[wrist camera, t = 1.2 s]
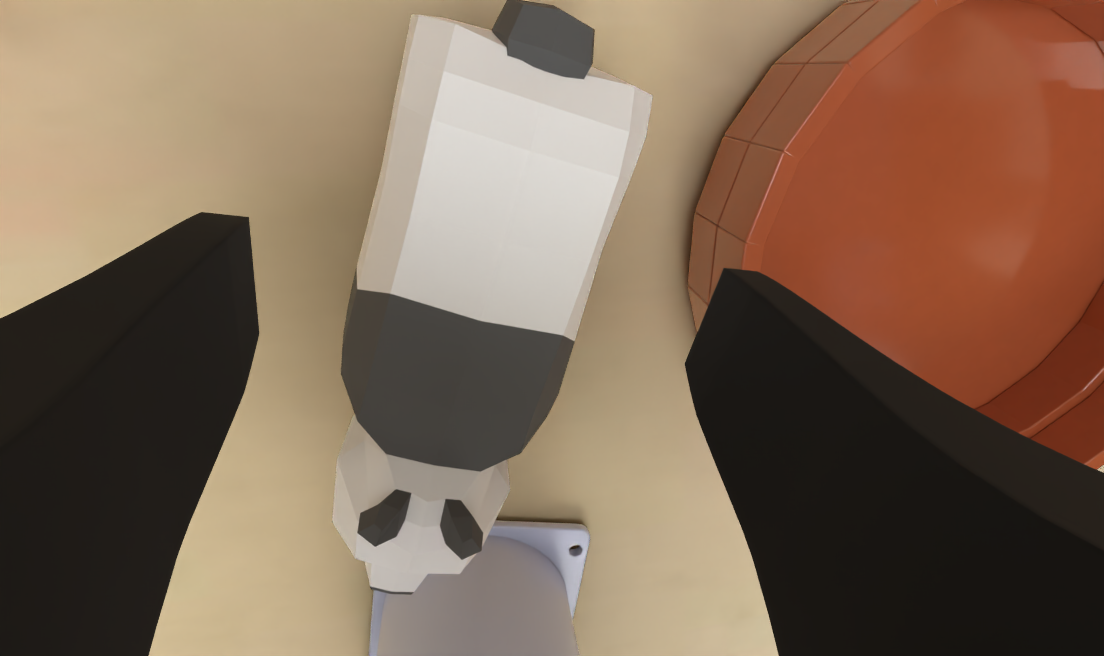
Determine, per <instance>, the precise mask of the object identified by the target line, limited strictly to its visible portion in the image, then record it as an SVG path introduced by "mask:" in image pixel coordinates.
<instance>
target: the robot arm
mask: <svg viewBox="0 0 1104 656" xmlns="http://www.w3.org/2000/svg"><path fill="white" fill-rule="evenodd" d="M258 337H259V325H258V314H257V303H256V292H255V281H254V270H253V259H252V248H251V237H250V226H249V217H242V216H232V215H223V214H214V213H204V212H201V213H198V214H196V215H194V216H192V217H190V218H188V219H186V220H184V221H182V222H181V223H179V224H177V225H175V226H173V227H172V228H170V229H168V230H166V231H165V232H163V233H161V234H159V235H158V236H156V237H154V238H152V239H151V240H149V241H147V242H145V243H144V244H142V245H140V246H139V247H137V248H135V249H133V250H131V251H130V252H128V253H126V254H124V255H123V256H121V257H119V258H117V259H115V260H114V261H112V262H110V263H108V264H106V265H105V266H103V267H101V268H99V269H98V270H96V271H94V272H92V273H90V274H89V275H87V276H85V277H83V278H81V279H79V280H77V281H75V282H73V283H71V284H69V285H67V286H65V287H63V288H61V289H59V290H57V291H55V292H53V293H51V294H49V295H47V296H45V297H43V298H41V299H39V300H37V301H35V302H33V303H31V304H29V305H27V306H25V307H23V308H21V309H19V310H17V311H15V312H13V313H11V314H9V315H7V316H5V317H3V318H0V656H148V655H149V652H150V648H151V644H152V641H153V637H154V634H155V630H156V626H157V623H158V620H159V616H160V613H161V609H162V606H163V603H164V599H165V596H166V593H167V589H168V586H169V582H170V579H171V576H172V572H173V569H174V566H175V562H176V559H177V556H178V553H179V550H180V547H181V545H182V542H183V539H184V536H185V534H186V531H187V528H188V526H189V523H190V521H191V518H192V516H193V513H194V511H195V509H196V506H197V504H198V502H199V499H200V497H201V495H202V492H203V490H204V487H205V485H206V483H207V480H208V478H209V476H210V473H211V471H212V468H213V466H214V464H215V461H216V459H217V457H218V454H219V452H220V450H221V447H222V445H223V442H224V440H225V438H226V435H227V433H228V430H229V428H230V426H231V423H232V421H233V418H234V416H235V414H236V411H237V409H238V406H239V404H240V401H241V399H242V396H243V394H244V391H245V388H246V384H247V380H248V377H249V373H250V369H251V365H252V361H253V357H254V353H255V349H256V345H257V341H258ZM685 368H686V372H687V377H688V382H689V386H690V391H691V395H692V399H693V403H694V407H695V411H696V415H697V417H698V420H699V423H700V425H701V428H702V431H703V433H704V436H705V438H706V441H707V443H708V446H709V448H710V451H711V454H712V456H713V459H714V461H715V463H716V466H717V468H718V471H719V473H720V476H721V478H722V481H723V483H724V486H725V488H726V490H727V493H728V495H729V498H730V500H731V503H732V505H733V508H734V510H735V513H736V515H737V518H738V520H739V522H740V525H741V527H742V530H743V533H744V535H745V538H746V541H747V544H748V547H749V549H750V552H751V555H752V558H753V561H754V565H755V568H756V572H757V575H758V579H759V582H760V586H761V589H762V593H763V597H764V600H765V604H766V607H767V611H768V614H769V618H770V622H771V626H772V630H773V634H774V638H775V642H776V646H777V650H778V654H779V656H1104V473H1103V472H1100V471H1098V470H1096V469H1093V468H1091V467H1089V466H1087V465H1085V464H1082V463H1080V462H1078V461H1076V460H1074V459H1072V458H1070V457H1068V456H1065V455H1063V454H1061V453H1059V452H1057V451H1055V450H1053V449H1051V448H1048V447H1046V446H1044V445H1042V444H1040V443H1038V442H1036V441H1034V440H1032V439H1030V438H1028V437H1026V436H1024V435H1022V434H1020V433H1018V432H1016V431H1014V430H1012V429H1010V428H1008V427H1006V426H1004V425H1002V424H1000V423H998V422H997V421H995V420H993V419H991V418H989V417H988V416H986V415H984V414H982V413H980V412H978V411H977V410H975V409H973V408H971V407H969V406H967V405H966V404H964V403H962V402H960V401H958V400H956V399H955V398H953V397H951V396H950V395H948V394H946V393H945V392H943V391H941V390H939V389H938V388H936V387H934V386H933V385H931V384H930V383H928V382H926V381H925V380H923V379H922V378H920V377H919V376H917V375H915V374H914V373H912V372H911V371H909V370H907V369H906V368H904V367H903V366H901V365H900V364H898V363H896V362H895V361H893V360H892V359H890V358H889V357H887V356H886V355H884V354H883V353H881V352H880V351H878V350H877V349H875V348H874V347H872V346H871V345H869V344H868V343H866V342H865V341H863V340H862V339H860V338H859V337H858V336H856V335H855V334H853V333H852V332H850V331H849V330H847V329H846V328H845V327H843V326H842V325H840V324H839V323H837V322H836V321H834V320H833V319H832V318H830V317H829V316H827V315H826V314H824V313H823V312H822V311H820V310H819V309H817V308H816V307H814V306H813V305H811V304H810V303H809V302H807V301H806V300H804V299H803V298H801V297H800V296H798V295H797V294H795V293H794V292H792V291H791V290H789V289H788V288H786V287H785V286H783V285H781V284H780V283H778V282H777V281H775V280H773V279H771V278H770V277H768V276H766V275H764V274H762V273H760V272H758V271H750V270H740V269H731V268H723V271H722V273H721V276H720V278H719V281H718V283H717V286H716V288H715V290H714V293H713V295H712V298H711V300H710V303H709V305H708V308H707V310H706V313H705V315H704V317H703V320H702V322H701V325H700V327H699V330H698V332H697V335H696V337H695V340H694V342H693V344H692V347H691V349H690V352H689V354H688V357H687V359H686V362H685ZM589 543H590V534H589V530H588V529H587V527H586V526H584V525H582V524H573V523H547V522H520V521H495V522H494V524H493V526H492V528H491V530H490V532H489V534H488V536H487V538H486V540H485V543H484V545H483V546H482V551H481V552H478V553H477V554H476V555H475V556H474V557H473V558H472V560H471V561H470V562H469V563H468V565H467V566H466V567H465V568H464V569H463V571H462V572H461V573H460V574H427V576H426V577H425V578H424V580H423V581H422V582H421V584H420V585H419V586H418V588H417V589H416V590H415V591H414V593H413V594H412V595H405V594H388V593H384V592H380V591H376V590H374V591H373V604H372V618H371V632H370V645H369V656H580V654H579V649H578V644H577V640H576V635H575V630H574V626H573V617H574V613H575V608H576V603H577V599H578V594H579V589H580V585H581V580H582V575H583V571H584V566H585V561H586V557H587V552H588V547H589ZM574 545H579V547H578V548H576V549H570V548H571V547H572V546H574Z"/></svg>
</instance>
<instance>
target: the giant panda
mask: <svg viewBox="0 0 1104 656" xmlns="http://www.w3.org/2000/svg"><path fill="white" fill-rule="evenodd" d="M594 31H595V30H594V29H593V28H591V27H589V26H588V25H586V24H584V23H582V22H581V21H579V20H577V19H576V18H574V17H572V16H571V15H569V14H567V13H566V12H564V11H562V10H560V9H559V8H557V7H555V6H554V5H547V4H541V3H535V2H529V1H522V0H507V2H506V4H505V5H504V7H503V9H502V11H501V13H500V15H499V17H498V19H497V21H496V23H495V24H494V26H493V28H492V30H489V29H485V28H481V27H478V26H474V25H470V24H467V23H463V22H459V21H456V20H452V19H448V18H444V17H435V16H424V15H419V14H411V19H410V24H409V29H408V34H407V40H406V45H405V50H404V55H403V60H402V65H401V70H400V75H399V80H398V85H397V90H396V94H395V99H394V105H393V110H392V115H391V121H390V126H389V131H388V136H387V142H386V147H385V152H384V158H383V163H382V168H381V172H380V176H379V180H378V184H377V188H376V192H375V196H374V200H373V204H372V208H371V212H370V216H369V220H368V224H367V228H366V232H365V236H364V240H363V244H362V248H361V252H360V256H359V260H358V264H357V268H356V272H355V276H354V281H353V285H352V290H351V294H350V299H349V303H348V309H347V315H346V322H345V328H344V335H343V348H342V366H341V375H342V378H343V381H344V384H345V387H346V389H347V392H348V395H349V398H350V401H351V404H352V407H353V410H354V413H355V414H354V415H353V417H352V419H351V422H350V425H349V428H348V430H347V433H346V436H345V439H344V441H343V444H342V447H341V450H340V452H339V455H338V458H337V467H336V480H335V492H334V505H333V517H332V523H333V524H334V526H335V527H336V529H337V531H338V532H339V534H340V535H341V537H342V538H343V540H344V542H345V543H346V545H347V546H348V548H349V550H350V551H351V553H352V554H353V556H354V557H355V559H358V560H361V561H364V562H365V566H366V570H367V575H368V579H369V584H370V588H371V589H372V590H376V591H380V592H384V593H388V594H405V595H412V594H413V593H414V591H415V590H416V589H417V588H418V586H419V585H420V584H421V582H422V581H423V580H424V578H425V577H426V576H427V574H460V573H461V572H462V571H463V569H464V568H465V567H466V566H467V565H468V563H469V562H470V561H471V560H472V558H473V557H474V556H475V555H476V554H477V553H478V552H481V551H482V546H483V545H484V543H485V540H486V538H487V536H488V534H489V532H490V530H491V528H492V526H493V524H494V522H495V520H496V518H497V516H498V514H499V512H500V510H501V508H502V506H503V504H504V502H505V500H506V498H507V496H508V494H509V492H510V482H509V472H508V462H507V459H509V458H511V457H513V456H515V455H518V454H520V453H521V452H522V451H523V449H524V448H525V447H526V445H527V444H528V442H529V441H530V439H531V438H532V437H533V435H534V434H535V432H536V431H537V430H538V428H539V427H540V425H541V424H542V423H543V421H544V420H545V418H546V417H547V415H548V413H549V411H550V409H551V407H552V405H553V403H554V401H555V400H556V398H557V396H558V393H559V390H560V387H561V384H562V380H563V377H564V374H565V371H566V368H567V364H568V361H569V358H570V355H571V352H572V348H573V345H574V342H575V339H576V335H577V332H578V329H579V326H580V322H581V319H582V316H583V312H584V309H585V306H586V302H587V299H588V296H589V292H590V289H591V286H592V283H593V279H594V276H595V273H596V269H597V266H598V263H599V259H600V256H601V253H602V250H603V247H604V244H605V242H606V239H607V237H608V234H609V232H610V229H611V227H612V224H613V222H614V219H615V217H616V214H617V212H618V209H619V207H620V204H621V202H622V199H623V197H624V194H625V192H626V189H627V187H628V184H629V182H630V179H631V177H632V174H633V171H634V169H635V166H636V163H637V160H638V158H639V155H640V152H641V149H642V147H643V144H644V141H645V138H646V134H647V128H648V122H649V116H650V110H651V104H652V98H653V95H651V94H649V93H647V92H645V91H643V90H641V89H639V88H637V87H635V86H633V85H631V84H629V83H627V82H625V81H623V80H621V79H619V78H617V77H615V76H612V75H610V74H608V73H606V72H603V71H601V70H599V69H596V68H594V67H592V66H591V65H592V63H593V47H594Z"/></svg>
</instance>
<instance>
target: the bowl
mask: <svg viewBox="0 0 1104 656" xmlns="http://www.w3.org/2000/svg"><path fill="white" fill-rule="evenodd" d="M724 135H725V136H724V137H723V138H722V141H721V143H720V146H719V149H718V151H717V154H716V157H715V159H714V162H713V165H712V167H711V170H710V173H709V175H708V178H707V181H706V183H705V186H704V189H703V191H702V194H701V196H700V199H699V202H698V204H697V207H696V210H695V212H696V213H695V214H694V223H693V234H692V244H691V255H690V265H689V276H688V292H689V297H690V302H691V306H692V311H693V316H694V321H695V326H696V331H697V332H698V330H699V327H700V325H701V322H702V320H703V317H704V315H705V313H706V310H707V308H708V305H709V303H710V300H711V298H712V295H713V293H714V290H715V288H716V286H717V283H718V281H719V278H720V276H721V273H722V271H723V268H731V269H740V270H750V271H758V272H760V273H762V274H764V275H766V276H768V277H770V278H771V279H773V280H775V281H777V282H778V283H780V284H781V285H783V286H785V287H786V288H788V289H789V290H791V291H792V292H794V293H795V294H797V295H798V296H800V297H801V298H803V299H804V300H806V301H807V302H809V303H810V304H811V305H813V306H814V307H816V308H817V309H819V310H820V311H822V312H823V313H824V314H826V315H827V316H829V317H830V318H832V319H833V320H834V321H836V322H837V323H839V324H840V325H842V326H843V327H845V328H846V329H847V330H849V331H850V332H852V333H853V334H855V335H856V336H858V337H859V338H860V339H862V340H863V341H865V342H866V343H868V344H869V345H871V346H872V347H874V348H875V349H877V350H878V351H880V352H881V353H883V354H884V355H886V356H887V357H889V358H890V359H892V360H893V361H895V362H896V363H898V364H900V365H901V366H903V367H904V368H906V369H907V370H909V371H911V372H912V373H914V374H915V375H917V376H919V377H920V378H922V379H923V380H925V381H926V382H928V383H930V384H931V385H933V386H934V387H936V388H938V389H939V390H941V391H943V392H945V393H946V394H948V395H950V396H951V397H953V398H955V399H956V400H958V401H960V402H962V403H964V404H966V405H967V406H969V407H971V408H973V409H975V410H977V411H978V412H980V413H982V414H984V415H986V416H988V417H989V418H991V419H993V420H995V421H997V422H998V423H1000V424H1002V425H1004V426H1006V427H1008V428H1010V429H1012V430H1014V431H1016V432H1018V433H1020V434H1022V435H1024V436H1026V437H1028V438H1030V439H1032V440H1034V441H1036V442H1038V443H1040V444H1042V445H1044V446H1046V447H1048V448H1051V449H1053V450H1055V451H1057V452H1059V453H1061V454H1063V455H1065V456H1068V457H1070V458H1072V459H1074V460H1076V461H1078V462H1080V463H1082V464H1085V465H1087V466H1089V467H1091V468H1093V469H1096V470H1097V469H1098V468H1100V467H1101V466H1102V465H1104V0H849V1H847V2H845V3H843V4H842V5H841V6H839V7H838V8H837V9H836V10H835V11H833V12H832V13H831V14H830V15H829V16H828V17H826V18H825V19H824V20H823V21H822V22H821V23H819V24H818V25H817V26H816V27H815V28H814V29H813V30H811V31H810V32H809V33H808V34H807V35H806V36H804V37H803V38H802V39H801V40H800V41H799V42H798V43H796V44H795V45H794V46H793V47H792V48H791V49H789V50H788V51H787V52H786V53H785V54H784V55H782V56H781V57H780V58H779V59H778V60H777V61H776V62H775V64H773V65H772V66H771V68H770V69H769V71H768V72H767V74H766V75H765V76H764V78H763V79H762V81H761V82H760V84H759V85H758V87H757V88H756V89H755V91H754V92H753V94H752V95H751V97H750V98H749V99H748V101H747V102H746V104H745V105H744V107H743V108H742V109H741V111H740V112H739V114H738V115H737V117H736V118H735V119H734V121H733V122H732V124H731V125H730V127H729V128H728V130H727V131H726V132H725V134H724Z"/></svg>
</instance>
